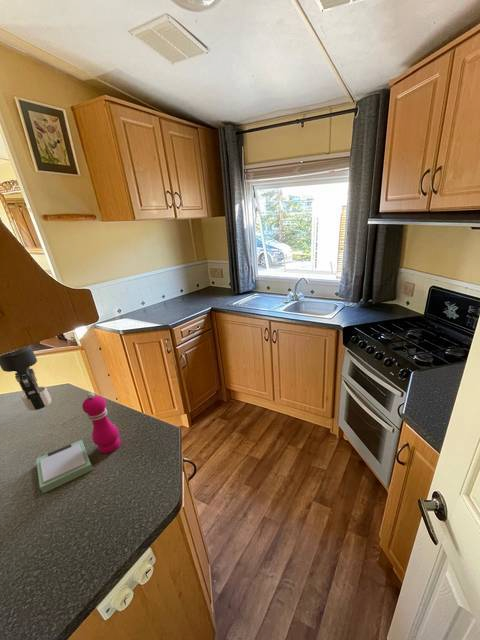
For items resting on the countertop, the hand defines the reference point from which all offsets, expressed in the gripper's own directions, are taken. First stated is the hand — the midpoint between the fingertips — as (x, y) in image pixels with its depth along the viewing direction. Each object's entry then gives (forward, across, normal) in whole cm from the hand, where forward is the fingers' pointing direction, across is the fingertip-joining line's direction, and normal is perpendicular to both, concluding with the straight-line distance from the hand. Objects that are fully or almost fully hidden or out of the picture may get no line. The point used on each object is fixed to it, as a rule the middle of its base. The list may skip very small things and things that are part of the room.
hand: (39, 403), depth 83 cm
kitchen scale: (+18, +8, 0) cm, 20 cm away
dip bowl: (+1, 0, 0) cm, 1 cm away
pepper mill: (+19, +8, +12) cm, 23 cm away
